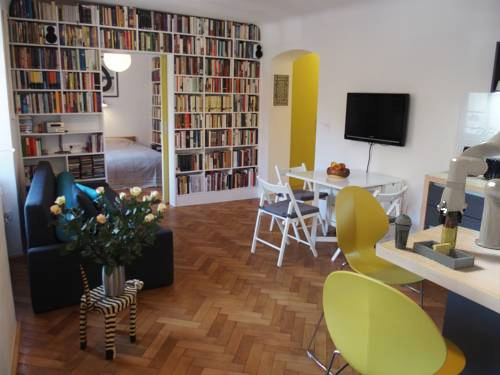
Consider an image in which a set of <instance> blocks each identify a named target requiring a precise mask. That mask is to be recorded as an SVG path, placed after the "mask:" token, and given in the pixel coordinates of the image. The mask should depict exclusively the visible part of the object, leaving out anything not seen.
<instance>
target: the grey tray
mask: <svg viewBox="0 0 500 375" xmlns="http://www.w3.org/2000/svg"><path fill="white" fill-rule="evenodd" d="M438 244H441V242H438V241H436V240H434V239H430V240H429V239H428V240H422V241H414V242H413V246H412V252H414V253H416V254H418V255H421V256H422V257H425V258H427V259H429V260H431V261H434V262H436V263H437V264H440V265H443V266H445V267H447V268H449V269H451V270H453V271H455V270H462V269H466V268H467V269H468V268H472V267H473V268H474V264H475V260H476V257H475V256H473V255H471V254H468V253H465V252H463V251H461V250H458V249H456V248H455V249H454V248H451V247H450V254H449V255H444V254H442V253H440V252H437V251H435V250H433V248H432V246H433V245H438Z"/></svg>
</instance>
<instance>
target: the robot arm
mask: <svg viewBox="0 0 500 375" xmlns="http://www.w3.org/2000/svg"><path fill="white" fill-rule="evenodd" d="M499 156H500V131H498V132H497V133H496V134H494V136H492V137H491V138H490V139H488V140H486V141H484V142H480V143H477V144H475V145H472V146H470V147H468V148H467V149H465V150H464V151H462V152H461V153H460V154H458V156H457V157H455V156H454V157H451V158H450V161H449V166H448V172H447V177H446V178H447V180H446V186H445V187H444V189H443V191H442V194H441V199H440V203H438V204H437V205H436V208H437V209H436V210H437V212H438V215H439V216H438V224H441V225H442V226H443V225H445V222H446V217H447V212H448V211H449V212H451V211H457V213H456V217H457V222H458V224H461V223H462V220H463V216H464V214H465V212H466V210H467V207H468V206H469V205H468V204H467V203H466V202H465V201H466V185H467V178H468V175H470V176H475V177H476V176H478V177H479V176H482V175H484V174H486V172H487V171H488V169H489V165H488V163H487V161H485V160H484V159H486V158H492V157H493V158H494V157H499ZM483 193H484V194H483V195H484V196H483V197H484V204H483V209H482V210H483V211H482V216H481V222H480V228H479V229H480V230H479V236H478V238H476V239H475V240H474V244H475V245H477V246H480V247H482V248H487V249H492V250H500V178H491V179H490V180H488V181H486V183H485V184H484V187H483Z"/></svg>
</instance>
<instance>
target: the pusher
mask: <svg viewBox="0 0 500 375" xmlns="http://www.w3.org/2000/svg"><path fill="white" fill-rule="evenodd" d="M450 247H451V244H450V243H445V244H438V245H433V246H432V248H433V250H435V251H437V252H440V253H442V254H444V255H449V254H450Z"/></svg>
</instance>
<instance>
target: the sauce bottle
mask: <svg viewBox="0 0 500 375" xmlns="http://www.w3.org/2000/svg"><path fill="white" fill-rule="evenodd" d="M456 213H457V211H451V212H449V211H448V212H447V214H446V222H445V225H443V224H442V228H441V236H440V237H441V238H440V243H441V244H445V243H450V244H451V248H454V249H456V244H457V237H458V230H459V223H458V222H457V217H456Z"/></svg>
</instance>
